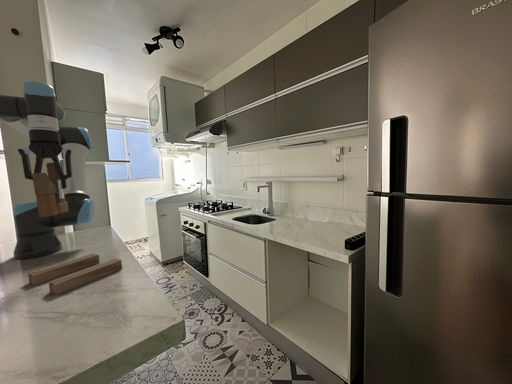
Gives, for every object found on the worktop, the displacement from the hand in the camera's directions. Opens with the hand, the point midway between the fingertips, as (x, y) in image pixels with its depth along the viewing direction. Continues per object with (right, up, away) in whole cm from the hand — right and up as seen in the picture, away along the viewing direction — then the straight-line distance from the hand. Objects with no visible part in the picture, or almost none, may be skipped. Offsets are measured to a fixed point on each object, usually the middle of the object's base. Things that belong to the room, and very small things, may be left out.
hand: (52, 198), depth 75 cm
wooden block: (+1, -5, 0) cm, 6 cm away
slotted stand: (+12, -25, -4) cm, 28 cm away
